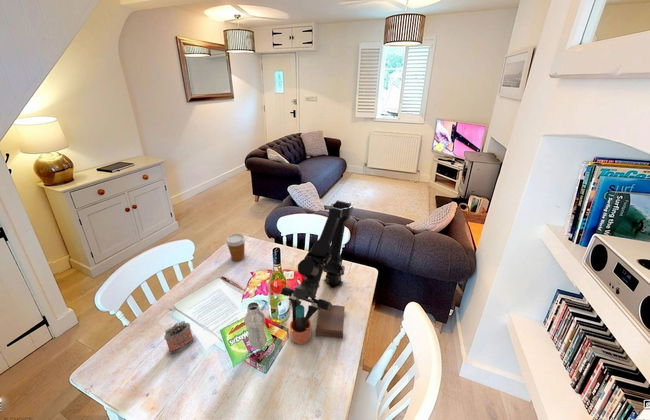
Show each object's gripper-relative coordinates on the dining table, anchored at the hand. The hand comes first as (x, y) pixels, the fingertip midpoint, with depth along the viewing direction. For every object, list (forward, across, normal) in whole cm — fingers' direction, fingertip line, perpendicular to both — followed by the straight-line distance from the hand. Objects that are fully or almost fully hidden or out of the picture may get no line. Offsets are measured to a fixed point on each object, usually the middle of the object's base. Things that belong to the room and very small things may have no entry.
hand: (298, 323), depth 95 cm
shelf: (-2, +8, +13) cm, 15 cm away
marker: (+4, 0, +6) cm, 7 cm away
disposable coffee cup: (-16, -53, +27) cm, 61 cm away
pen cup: (+4, 0, +6) cm, 8 cm away
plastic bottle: (+12, -10, -1) cm, 16 cm away
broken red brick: (+20, -36, -9) cm, 42 cm away
